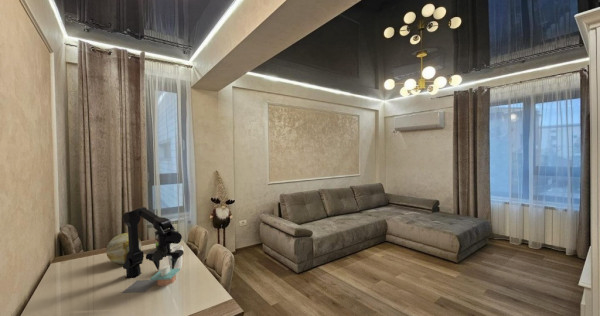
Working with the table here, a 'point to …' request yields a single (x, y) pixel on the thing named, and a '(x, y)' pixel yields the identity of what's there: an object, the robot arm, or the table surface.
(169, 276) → the cover plate
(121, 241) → the decorative sphere
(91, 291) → the table surface
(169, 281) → the bowl
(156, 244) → the coffee can
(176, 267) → the foam cup
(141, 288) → the mat
